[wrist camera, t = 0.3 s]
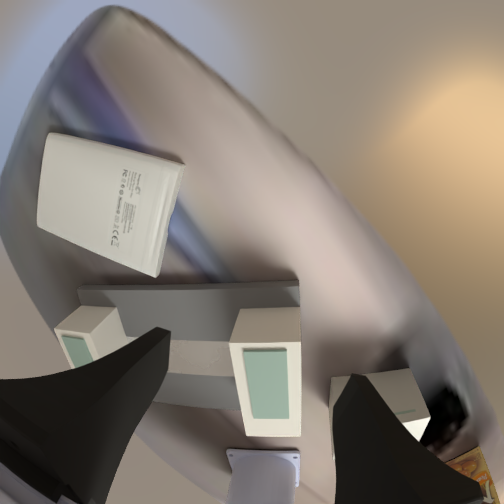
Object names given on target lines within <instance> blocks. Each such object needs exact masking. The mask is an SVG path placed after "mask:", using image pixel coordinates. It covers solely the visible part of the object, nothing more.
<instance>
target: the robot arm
mask: <svg viewBox="0 0 504 504" xmlns="http://www.w3.org/2000/svg"><path fill="white" fill-rule="evenodd" d="M170 340H171V331H169V330H166V329H163V328H160V327H155V328H153V329H152V330H150V331H148V332H147V333H145V334H143V335H142V336H140V337H138V338H137V339H135V340H133V341H132V342H130V343H128V344H127V345H125V346H123V347H121V348H119V349H118V350H116V351H114V352H112V353H110V354H108V355H106V356H104V357H102V358H100V359H98V360H95V361H93V362H91V363H88V364H85V365H83V366H80V367H77V368H74V369H71V370H67V371H64V372H59V373H56V374H51V375H47V376H41V377H35V378H25V379H0V504H105V502H106V499H107V496H108V493H109V490H110V487H111V484H112V482H113V479H114V476H115V474H116V471H117V468H118V466H119V464H120V461H121V459H122V456H123V454H124V452H125V449H126V447H127V445H128V443H129V440H130V438H131V436H132V434H133V432H134V430H135V429H136V427H137V425H138V424H139V422H140V420H141V419H142V417H143V415H144V414H145V412H146V411H147V409H148V407H149V406H150V404H151V402H152V401H153V399H154V397H155V396H156V394H157V393H158V391H159V389H160V387H161V385H162V383H163V380H164V378H165V376H166V373H167V371H168V369H169V354H170ZM332 432H333V443H334V454H335V465H336V494H335V504H481V503H482V502H483V500H484V497H483V493H482V490H481V487H480V484H479V482H478V481H475V480H473V479H471V478H469V477H467V476H465V475H463V474H461V473H460V472H458V471H456V470H455V469H453V468H451V467H450V466H448V465H447V464H445V463H444V462H443V461H441V460H440V459H439V458H437V457H436V456H435V455H434V454H432V453H431V452H430V451H429V450H427V449H426V448H425V447H424V446H423V445H422V444H421V443H420V442H419V441H418V440H417V439H416V438H415V437H414V436H413V435H412V434H411V433H410V432H409V431H408V430H407V429H406V427H405V426H404V425H403V424H402V423H401V422H400V420H399V419H398V418H397V417H396V415H395V414H394V413H393V412H392V410H391V409H390V408H389V406H388V405H387V404H386V402H385V401H384V400H383V398H382V397H381V395H380V394H379V393H378V391H377V390H376V389H375V387H374V386H373V384H372V383H371V382H370V380H369V379H368V378H367V377H366V376H365V375H358V374H352V375H351V376H350V378H349V380H348V382H347V384H346V385H345V387H344V389H343V391H342V393H341V394H340V396H339V398H338V399H337V401H336V403H335V404H334V406H333V417H332ZM226 454H227V457H228V460H229V463H230V466H231V468H232V471H233V472H232V476H231V481H230V485H229V490H228V494H227V498H226V503H225V504H294V498H295V487H298V486H299V471H300V452H299V451H263V450H241V449H227V451H226Z"/></svg>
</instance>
